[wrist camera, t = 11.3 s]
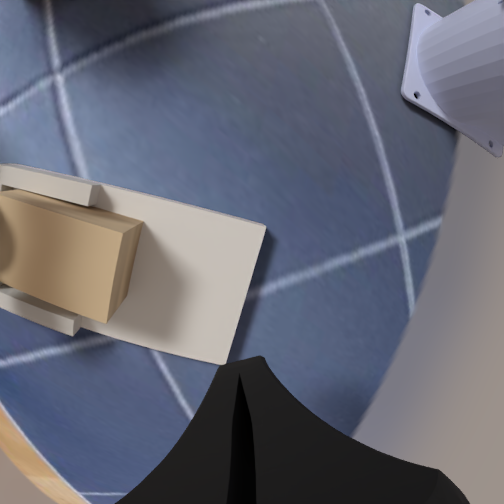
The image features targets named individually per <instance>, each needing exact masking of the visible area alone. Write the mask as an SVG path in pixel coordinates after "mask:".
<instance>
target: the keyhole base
mask: <svg viewBox="0 0 504 504" xmlns="http://www.w3.org/2000/svg"><path fill="white" fill-rule="evenodd" d="M17 189H22V190H26V191H30V192H34V193H38V194H42V195H46V196H49V197H53V198H57V199H61V200H65V201H69V202H73V203H77V204H81V205H84V206H93V207H97V208H100V209H104V210H107V211H110V212H114V213H117V214H121V215H124V216H127V217H131V218H134V219H138V220H141V221H144V222H143V226H142V230H141V234H140V238H139V243H138V247H137V251H136V256H135V260H134V265H133V269H132V274H131V279H130V284H129V289H128V294H127V296H126V298H125V299H124V300H123V302H122V303H121V305H120V306H119V307H118V309H117V310H116V311H115V313H114V314H113V316H112V317H111V318H110V320H109V321H108V322H107V324H105V323H102V322H99V321H96V320H93V319H91V318H88V317H85V316H82V315H80V314H77V313H74V312H72V311H69V310H66V309H64V308H61V307H58V306H56V305H53V304H51V303H48V302H46V301H43V300H41V299H39V298H36V297H34V296H31V295H29V294H27V293H24V292H22V291H20V290H17V289H15V288H13V287H11V286H9V285H6V284H4V283H2V282H0V307H1V308H3V309H5V310H7V311H10V312H12V313H14V314H17V315H19V316H21V317H24V318H26V319H28V320H31V321H33V322H36V323H38V324H41V325H43V326H46V327H49V328H51V329H54V330H56V331H59V332H62V333H65V334H67V335H70V336H74V335H75V333H76V332H77V331H78V330H79V329H80V327H82V328H85V329H88V330H91V331H94V332H97V333H100V334H104V335H107V336H110V337H113V338H116V339H120V340H123V341H127V342H130V343H133V344H137V345H141V346H144V347H148V348H152V349H155V350H159V351H163V352H167V353H171V354H175V355H179V356H183V357H187V358H192V359H196V360H200V361H205V362H210V363H214V364H219V365H224V364H226V361H227V358H228V354H229V351H230V348H231V344H232V341H233V338H234V334H235V331H236V328H237V324H238V321H239V318H240V314H241V311H242V308H243V304H244V301H245V298H246V294H247V291H248V288H249V284H250V281H251V278H252V274H253V271H254V268H255V264H256V261H257V257H258V254H259V251H260V247H261V244H262V241H263V237H264V234H265V230H266V226H265V225H264V224H261V223H257V222H254V221H250V220H247V219H243V218H239V217H235V216H232V215H228V214H224V213H220V212H217V211H213V210H209V209H205V208H202V207H198V206H194V205H190V204H186V203H182V202H178V201H174V200H170V199H166V198H163V197H159V196H155V195H151V194H146V193H142V192H138V191H134V190H130V189H126V188H122V187H118V186H114V185H109V184H105V183H101V182H97V181H92V180H88V179H84V178H79V177H75V176H71V175H66V174H62V173H57V172H53V171H48V170H44V169H39V168H35V167H30V166H25V165H20V164H0V191H9V190H17Z"/></svg>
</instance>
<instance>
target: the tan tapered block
mask: <svg viewBox="0 0 504 504" xmlns="http://www.w3.org/2000/svg"><path fill="white" fill-rule="evenodd" d="M143 222H144V221H141V220H138V219H134V218H131V217H127V216H124V215H121V214H117V213H114V212H110V211H107V210H104V209H100V208H97V207H93V206H84V205H81V204H77V203H73V202H69V201H65V200H61V199H57V198H53V197H49V196H46V195H42V194H38V193H34V192H30V191H26V190H22V189H17V190H9V191H0V282H2V283H4V284H6V285H9V286H11V287H13V288H15V289H17V290H20V291H22V292H24V293H27V294H29V295H31V296H34V297H36V298H39V299H41V300H43V301H46V302H48V303H51V304H53V305H56V306H58V307H61V308H64V309H66V310H69V311H72V312H74V313H77V314H80V315H82V316H85V317H88V318H91V319H93V320H96V321H99V322H102V323H105V324H107V322H108V321H109V320H110V318H111V317H112V316H113V314H114V313H115V311H116V310H117V309H118V307H119V306H120V305H121V303H122V302H123V300H124V299H125V298H126V296H127V294H128V289H129V284H130V279H131V274H132V269H133V265H134V260H135V256H136V251H137V247H138V243H139V238H140V234H141V230H142V226H143Z"/></svg>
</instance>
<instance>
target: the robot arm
mask: <svg viewBox="0 0 504 504" xmlns="http://www.w3.org/2000/svg"><path fill="white" fill-rule="evenodd" d="M426 13H427V14H426ZM414 93H415V94H416V95H417V99H416V98H415V97H414ZM401 94H402V96H403V97H404V98H405V99H406V100H407V101H409V102H411V103H413V104H415V105H417V106H418V107H420V108H422V109H424V110H425V111H427V112H429V113H430V114H432V115H434V116H436V117H437V118H439V119H440V120H442V121H444V122H445V123H447V124H448V125H450V126H452V127H453V128H455V129H456V130H458V131H459V132H461V133H462V134H464V135H465V136H467V137H468V138H470V139H471V140H473V141H474V142H476V143H477V144H478V145H480V146H481V147H483V148H484V149H485V150H487V151H488V152H490V153H491V154H492V155H493V156H495V157H501V156H502V153H503V146H504V0H475V1H473V2H471V3H469V4H467V5H466V6H464V7H462V8H460V9H458V10H457V11H455V12H453V13H451V14H450V15H448V16H446V17H444V18H442V17H441V16H439V15H438V14H436V13H435V12H433V11H431V10H430V9H428V8H427V7H425V6H423V5H422V4H419V3H417V4H416V5H414V7H413V14H412V23H411V30H410V38H409V45H408V52H407V58H406V64H405V70H404V76H403V81H402V87H401ZM489 144H490V146H489ZM115 504H470V503H469V501H468V500H467V499H466V497H465V495H464V494H463V493H462V491H461V490H460V489H459V488H458V487H457V486H456V485H455V484H454V483H453V482H452V481H451V480H450V479H449V478H448V477H447V476H446V475H445V474H443V473H442V472H441V471H440V470H438V469H434V468H430V467H425V466H421V465H417V464H414V463H410V462H407V461H404V460H401V459H398V458H395V457H393V456H390V455H387V454H385V453H382V452H379V451H377V450H375V449H373V448H370V447H368V446H366V445H364V444H362V443H360V442H358V441H356V440H354V439H352V438H350V437H348V436H346V435H345V434H343V433H341V432H340V431H338V430H336V429H335V428H333V427H332V426H330V425H329V424H327V423H326V422H324V421H323V420H321V419H320V418H319V417H317V416H316V415H315V414H313V413H312V412H311V411H310V410H308V409H307V408H306V407H305V406H304V405H303V404H302V403H300V402H299V401H298V400H297V399H296V398H295V397H294V396H293V395H292V394H291V393H290V392H289V391H288V390H287V389H286V388H285V387H284V386H283V385H282V383H281V382H280V381H279V380H278V379H277V378H276V376H275V375H274V374H273V372H272V371H271V369H270V368H269V366H268V365H267V363H266V360H265V358H264V357H262V356H256V357H252V358H248V359H244V360H240V361H236V362H232V363H228V364H224V365H220V366H219V368H218V369H217V372H216V374H215V376H214V378H213V381H212V383H211V385H210V387H209V389H208V391H207V393H206V395H205V397H204V399H203V401H202V403H201V405H200V407H199V408H198V410H197V412H196V414H195V416H194V417H193V419H192V420H191V422H190V424H189V425H188V427H187V428H186V430H185V431H184V433H183V435H182V436H181V437H180V439H179V440H178V442H177V443H176V444H175V446H174V447H173V448H172V450H171V451H170V452H169V453H168V455H167V456H166V457H165V458H164V459H163V460H162V462H161V463H160V464H159V465H158V466H157V467H156V468H155V469H154V470H153V471H152V472H151V473H150V474H149V475H148V476H147V477H146V478H145V479H144V480H143V481H142V482H141V483H140V484H139V485H137V486H136V487H135V488H134V489H133V490H132V491H130V492H129V493H128V494H127V495H126V496H124V497H123V498H122V499H120V500H119V501H118V502H116V503H115Z"/></svg>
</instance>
